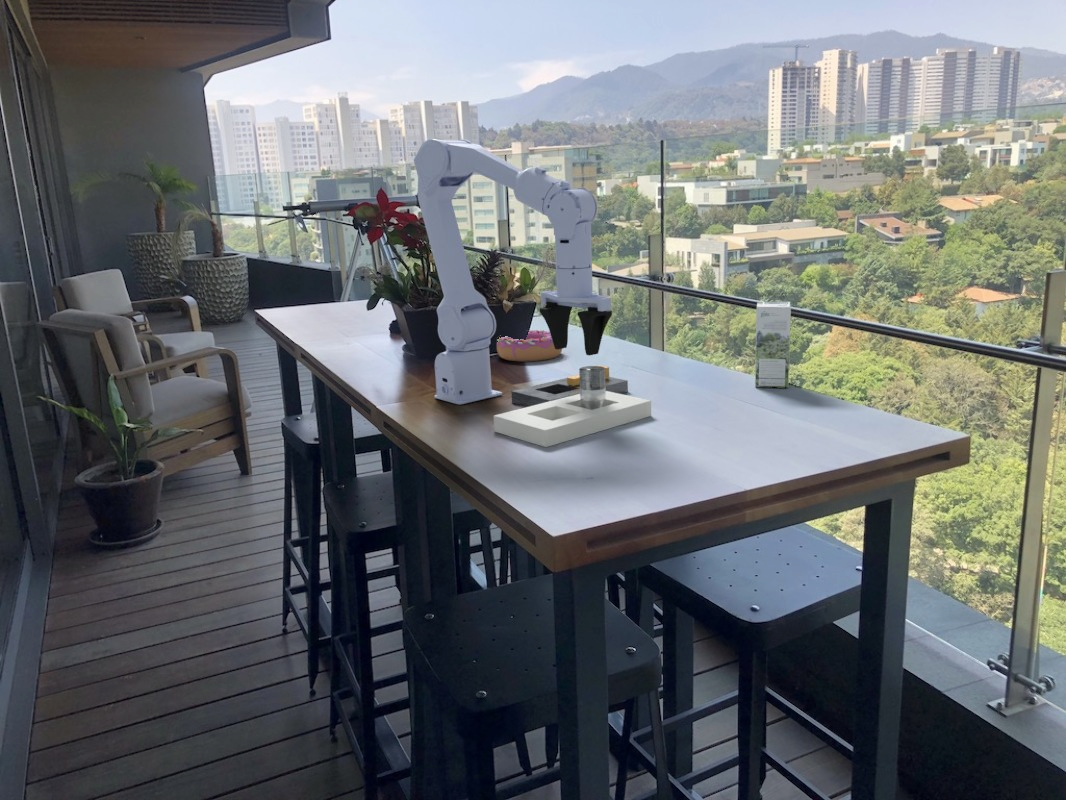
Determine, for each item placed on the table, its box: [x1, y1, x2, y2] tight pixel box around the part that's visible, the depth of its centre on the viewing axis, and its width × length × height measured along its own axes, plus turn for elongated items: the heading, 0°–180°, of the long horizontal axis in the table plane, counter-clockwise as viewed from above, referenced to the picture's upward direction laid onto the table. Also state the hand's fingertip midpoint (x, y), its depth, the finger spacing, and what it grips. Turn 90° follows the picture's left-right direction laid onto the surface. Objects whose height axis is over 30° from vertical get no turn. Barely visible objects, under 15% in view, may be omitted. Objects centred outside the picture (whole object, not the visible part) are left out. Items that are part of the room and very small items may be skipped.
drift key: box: [566, 364, 610, 386], centre depth 153 cm, size 8×3×2 cm, turn 130°
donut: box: [496, 329, 563, 363], centre depth 188 cm, size 14×14×5 cm
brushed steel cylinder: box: [578, 365, 606, 410], centre depth 136 cm, size 4×4×8 cm
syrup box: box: [754, 301, 792, 389], centre depth 151 cm, size 6×6×14 cm
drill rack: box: [493, 391, 652, 448], centre depth 134 cm, size 22×12×2 cm, turn 130°
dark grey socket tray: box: [511, 376, 629, 407], centre depth 151 cm, size 18×10×2 cm, turn 130°
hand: (576, 351), depth 141 cm, fingers open, 7 cm apart
